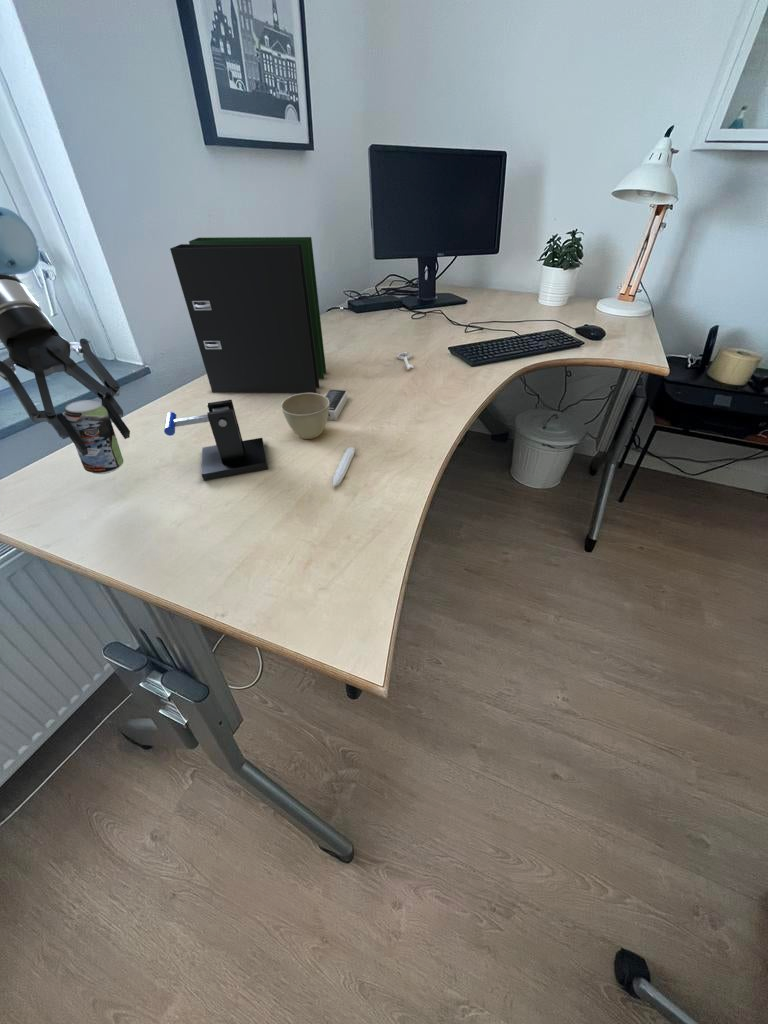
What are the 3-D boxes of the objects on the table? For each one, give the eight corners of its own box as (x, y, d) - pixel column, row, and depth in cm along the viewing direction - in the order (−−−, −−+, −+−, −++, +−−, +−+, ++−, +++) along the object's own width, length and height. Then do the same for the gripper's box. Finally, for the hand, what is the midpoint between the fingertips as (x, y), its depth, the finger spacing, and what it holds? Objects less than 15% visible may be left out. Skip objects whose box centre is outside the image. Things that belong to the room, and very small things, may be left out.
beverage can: (80, 474, 75) (41, 412, 67) (116, 451, 80) (83, 391, 72) (105, 483, 73) (67, 420, 65) (140, 459, 78) (109, 399, 70)
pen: (330, 491, 78) (329, 483, 77) (349, 450, 89) (348, 443, 88) (338, 492, 78) (337, 484, 77) (356, 450, 88) (356, 443, 87)
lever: (166, 438, 76) (162, 426, 75) (169, 422, 81) (164, 410, 79) (232, 427, 79) (228, 415, 77) (231, 413, 83) (227, 401, 82)
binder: (326, 372, 120) (312, 236, 99) (315, 395, 108) (295, 248, 88) (232, 370, 122) (198, 237, 101) (211, 393, 111) (168, 249, 90)
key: (410, 354, 128) (396, 354, 128) (410, 351, 128) (396, 351, 128) (415, 370, 119) (400, 370, 119) (415, 367, 119) (400, 367, 119)
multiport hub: (348, 399, 107) (347, 390, 105) (336, 420, 98) (335, 411, 97) (330, 398, 107) (329, 389, 106) (317, 419, 99) (316, 409, 98)
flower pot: (277, 440, 92) (271, 409, 88) (301, 419, 99) (297, 389, 95) (318, 449, 89) (314, 418, 84) (340, 426, 96) (337, 396, 91)
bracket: (203, 480, 81) (183, 424, 74) (204, 453, 89) (186, 400, 81) (268, 469, 84) (255, 413, 76) (263, 443, 91) (251, 390, 84)
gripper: (82, 319, 77) (160, 429, 79) (-49, 350, 66) (45, 476, 69) (80, 291, 71) (164, 412, 73) (-65, 320, 60) (39, 460, 62)
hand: (106, 443), depth 71 cm, fingers closed on beverage can, 6 cm apart
